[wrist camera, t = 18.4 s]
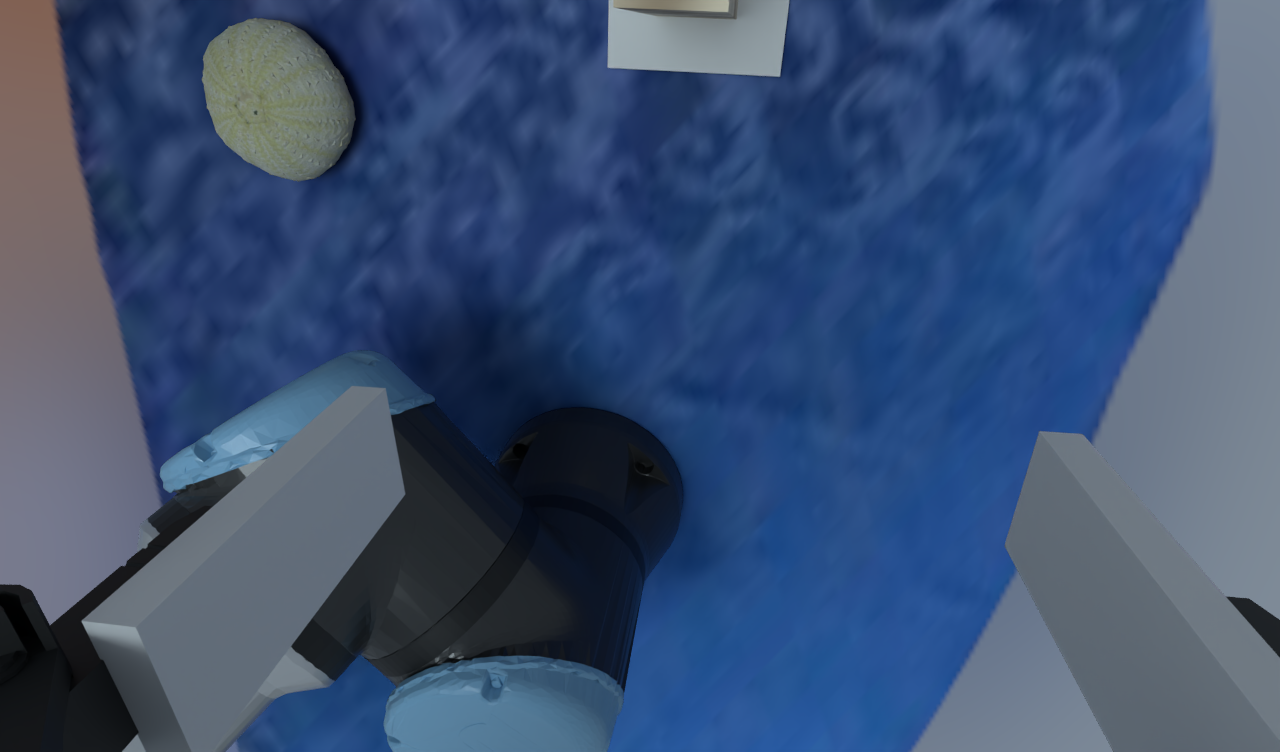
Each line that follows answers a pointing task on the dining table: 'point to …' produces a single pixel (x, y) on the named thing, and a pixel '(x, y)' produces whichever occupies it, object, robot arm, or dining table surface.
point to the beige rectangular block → (682, 8)
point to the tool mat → (701, 40)
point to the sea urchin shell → (277, 98)
